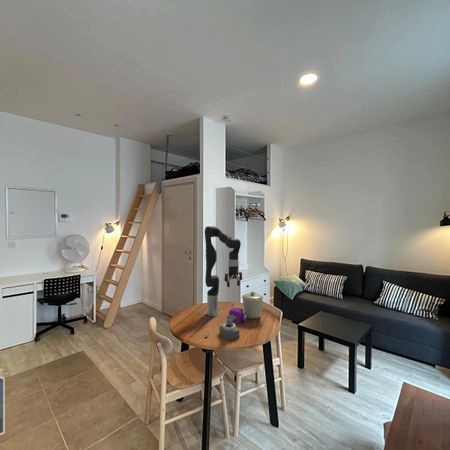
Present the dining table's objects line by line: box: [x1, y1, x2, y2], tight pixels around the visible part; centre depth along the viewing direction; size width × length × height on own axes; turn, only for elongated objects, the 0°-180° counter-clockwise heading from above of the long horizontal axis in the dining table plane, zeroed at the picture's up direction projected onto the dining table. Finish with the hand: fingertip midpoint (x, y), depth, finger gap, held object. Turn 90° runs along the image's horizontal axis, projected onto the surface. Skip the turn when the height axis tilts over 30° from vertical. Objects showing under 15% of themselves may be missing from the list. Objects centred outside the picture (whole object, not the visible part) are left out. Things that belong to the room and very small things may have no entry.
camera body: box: [219, 322, 240, 341], centre depth 168 cm, size 12×9×7 cm
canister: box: [241, 290, 264, 320], centre depth 203 cm, size 18×18×21 cm
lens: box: [225, 314, 233, 327], centre depth 168 cm, size 5×5×8 cm
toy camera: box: [228, 306, 247, 324], centre depth 193 cm, size 11×14×10 cm
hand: (233, 286), depth 184 cm, fingers open, 8 cm apart
